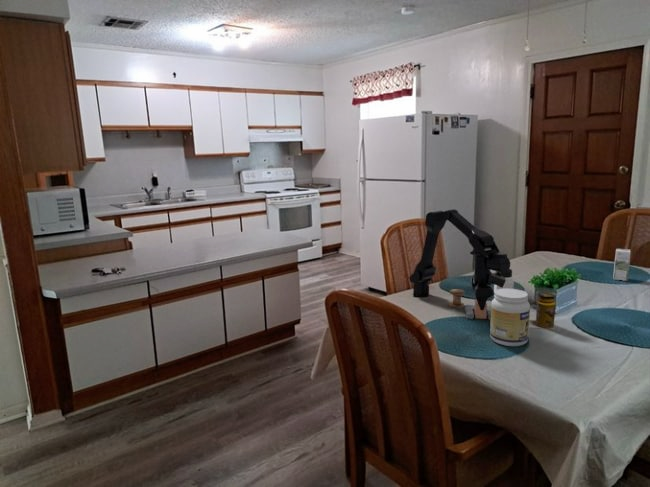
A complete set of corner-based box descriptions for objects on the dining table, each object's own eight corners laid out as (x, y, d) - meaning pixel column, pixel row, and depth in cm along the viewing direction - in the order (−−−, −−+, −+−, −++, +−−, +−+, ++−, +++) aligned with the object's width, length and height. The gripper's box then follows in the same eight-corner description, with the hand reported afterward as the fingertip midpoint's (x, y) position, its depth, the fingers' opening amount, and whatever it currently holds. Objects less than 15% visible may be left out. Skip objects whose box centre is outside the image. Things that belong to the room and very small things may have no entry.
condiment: (556, 330, 161) (558, 298, 158) (530, 328, 163) (532, 296, 161) (552, 322, 168) (555, 291, 165) (528, 320, 170) (530, 290, 168)
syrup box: (627, 278, 216) (630, 249, 213) (627, 281, 211) (630, 251, 208) (613, 277, 219) (616, 247, 216) (613, 280, 214) (616, 250, 211)
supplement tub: (524, 350, 146) (527, 300, 142) (486, 343, 152) (488, 295, 149) (530, 336, 156) (533, 289, 152) (494, 330, 162) (496, 285, 159)
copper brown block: (475, 318, 174) (475, 303, 173) (474, 314, 178) (474, 300, 177) (486, 318, 173) (486, 303, 172) (484, 314, 177) (485, 300, 176)
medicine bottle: (513, 297, 195) (515, 270, 193) (496, 297, 197) (497, 270, 194) (510, 292, 202) (511, 266, 200) (493, 291, 204) (494, 266, 201)
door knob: (449, 308, 186) (450, 293, 184) (449, 303, 191) (449, 288, 190) (464, 308, 184) (465, 293, 183) (463, 303, 190) (464, 289, 189)
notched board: (467, 318, 174) (467, 313, 173) (465, 309, 183) (465, 304, 183) (494, 319, 172) (494, 314, 171) (491, 310, 181) (491, 305, 181)
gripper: (508, 274, 161) (506, 315, 164) (500, 261, 179) (498, 298, 182) (476, 273, 163) (474, 314, 166) (471, 261, 181) (470, 297, 184)
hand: (480, 306), depth 175 cm, fingers open, 9 cm apart
